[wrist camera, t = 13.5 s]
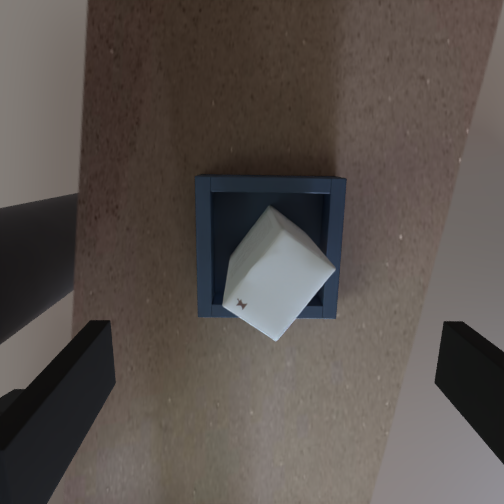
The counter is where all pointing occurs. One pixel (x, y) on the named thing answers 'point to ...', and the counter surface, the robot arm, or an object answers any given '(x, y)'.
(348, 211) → the counter surface
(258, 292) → the cosmetic box
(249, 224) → the holder
